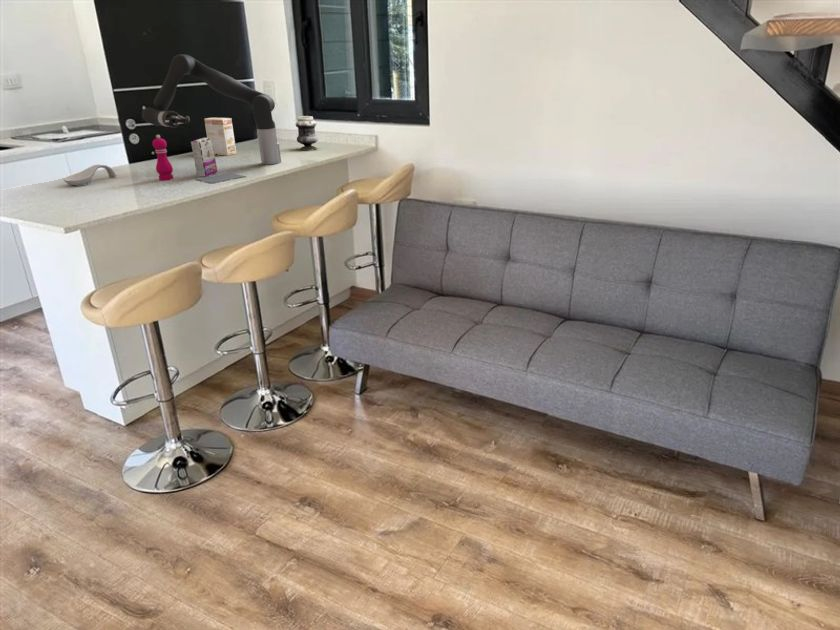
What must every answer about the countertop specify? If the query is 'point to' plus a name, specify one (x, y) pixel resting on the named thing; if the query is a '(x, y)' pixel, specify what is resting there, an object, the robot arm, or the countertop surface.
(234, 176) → the rubber mat
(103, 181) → the countertop surface
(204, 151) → the candy bar box
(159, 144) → the pepper mill
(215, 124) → the coffeecake box
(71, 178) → the spoon rest
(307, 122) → the apothecary jar
